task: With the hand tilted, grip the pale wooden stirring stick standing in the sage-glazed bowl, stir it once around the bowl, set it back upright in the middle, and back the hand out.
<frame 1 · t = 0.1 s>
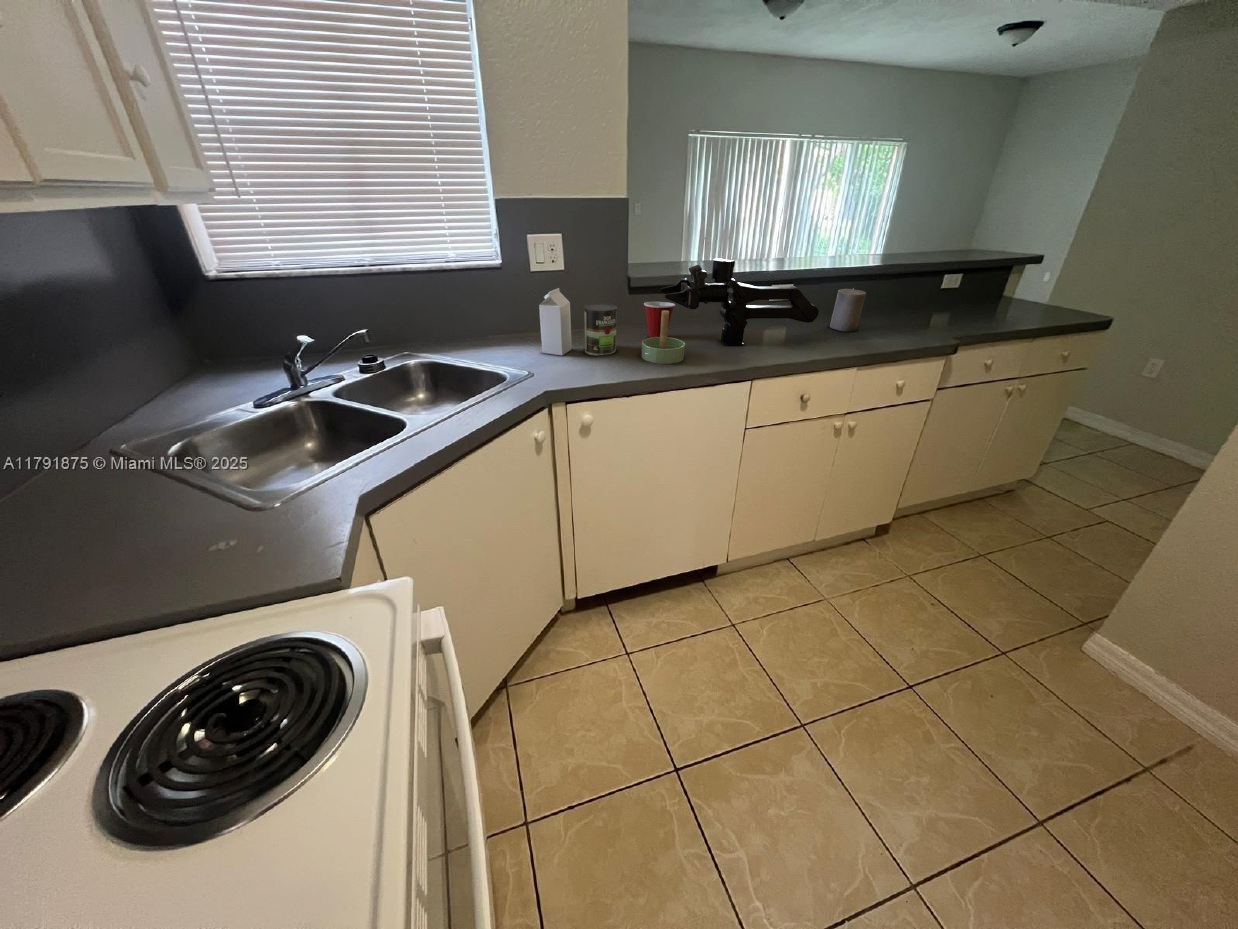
hand: (662, 293, 157), 17 cm above the worktop, tool horizontal, fingers open, 9 cm apart
plastic cup: (657, 338, 172), on the worktop
bowl: (662, 358, 152), on the worktop
pillar candle: (842, 328, 187), on the worktop
stick: (662, 356, 152), point 1 cm above the worktop, touching bowl
milk carton: (557, 352, 156), on the worktop
coffee can: (600, 351, 157), on the worktop
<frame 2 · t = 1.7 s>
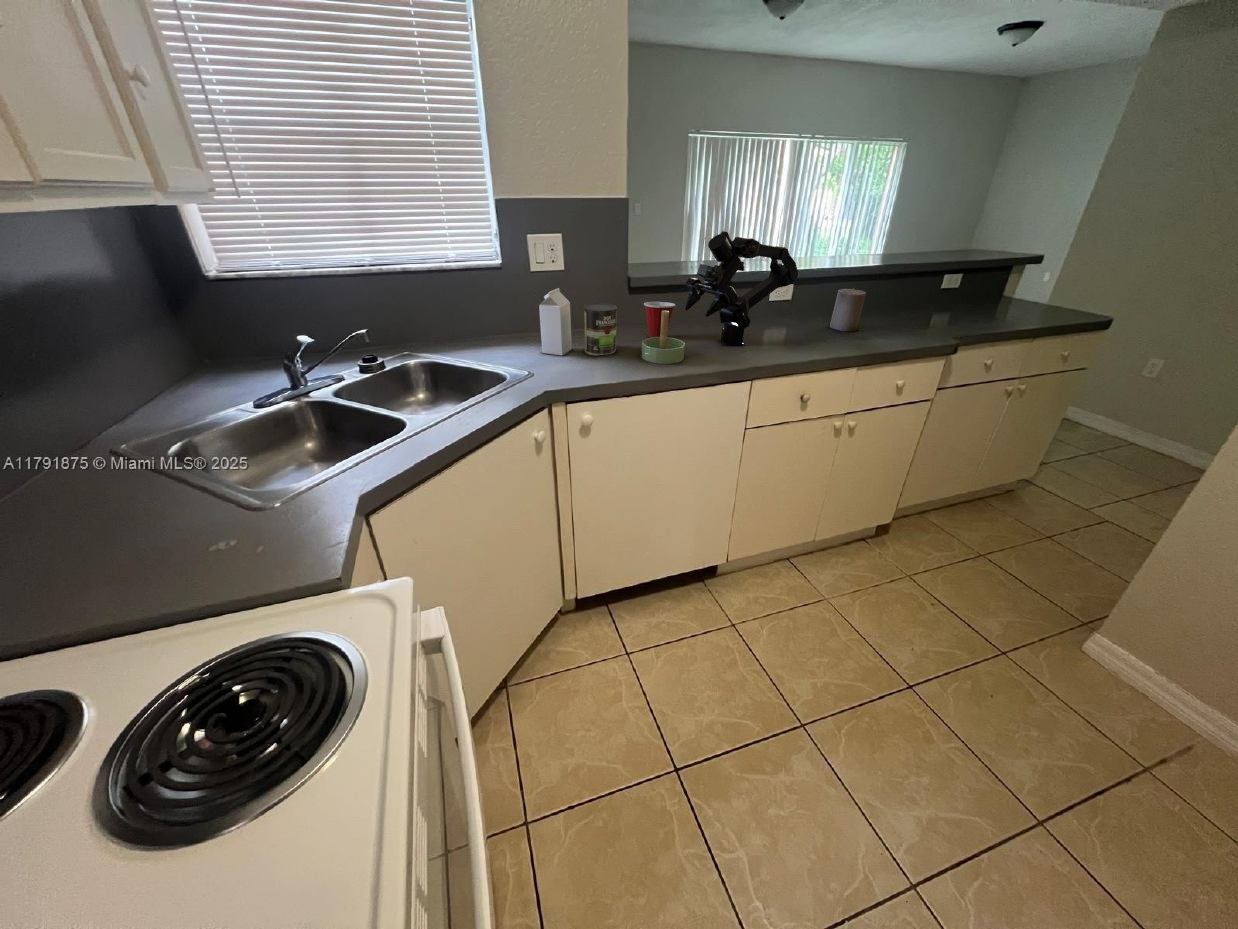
hand: (695, 312, 152), 13 cm above the worktop, tool tilted 45°, fingers open, 9 cm apart
nothing on the worktop moved.
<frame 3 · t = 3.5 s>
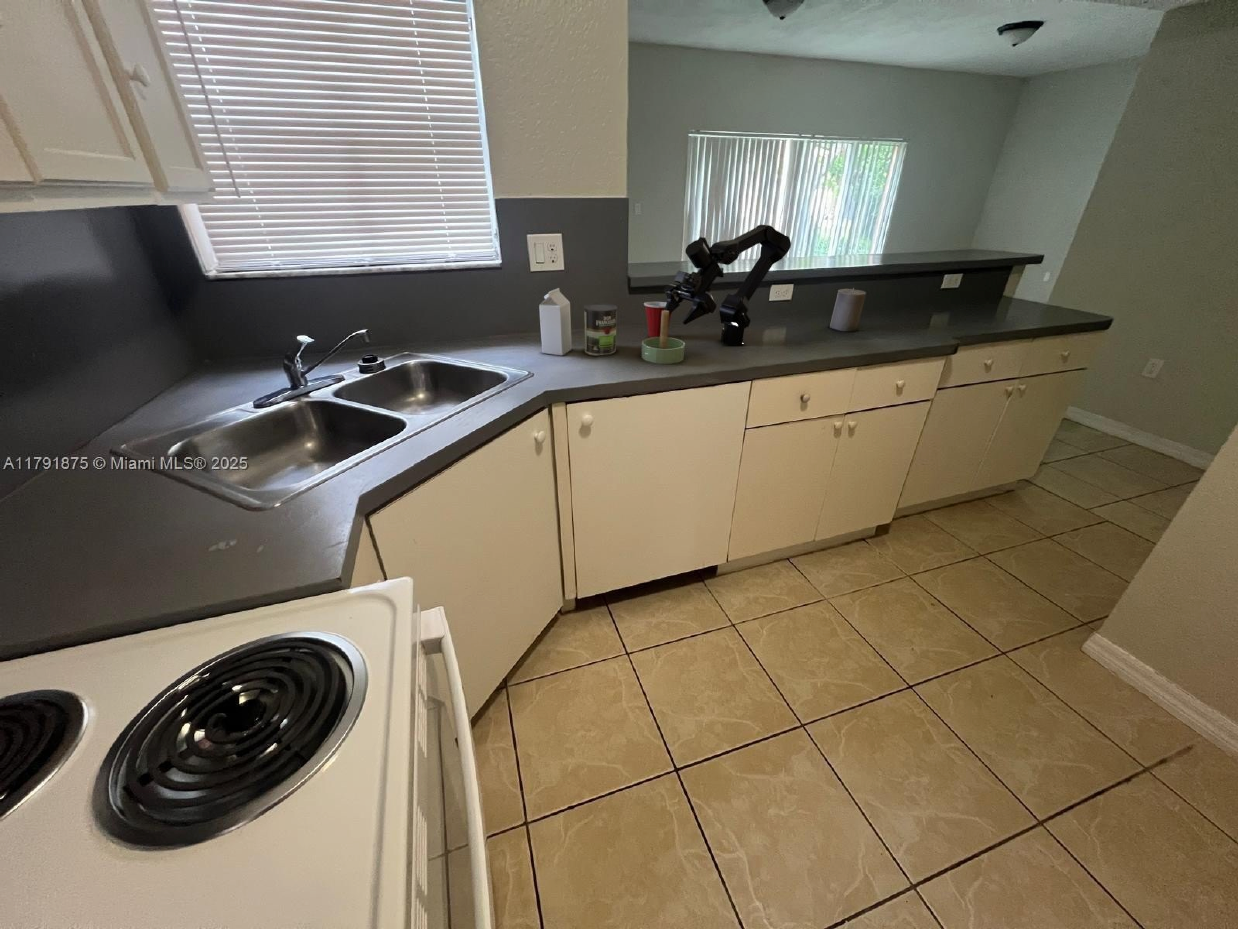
hand: (673, 320, 148), 11 cm above the worktop, tool tilted 45°, fingers open, 9 cm apart
nothing on the worktop moved.
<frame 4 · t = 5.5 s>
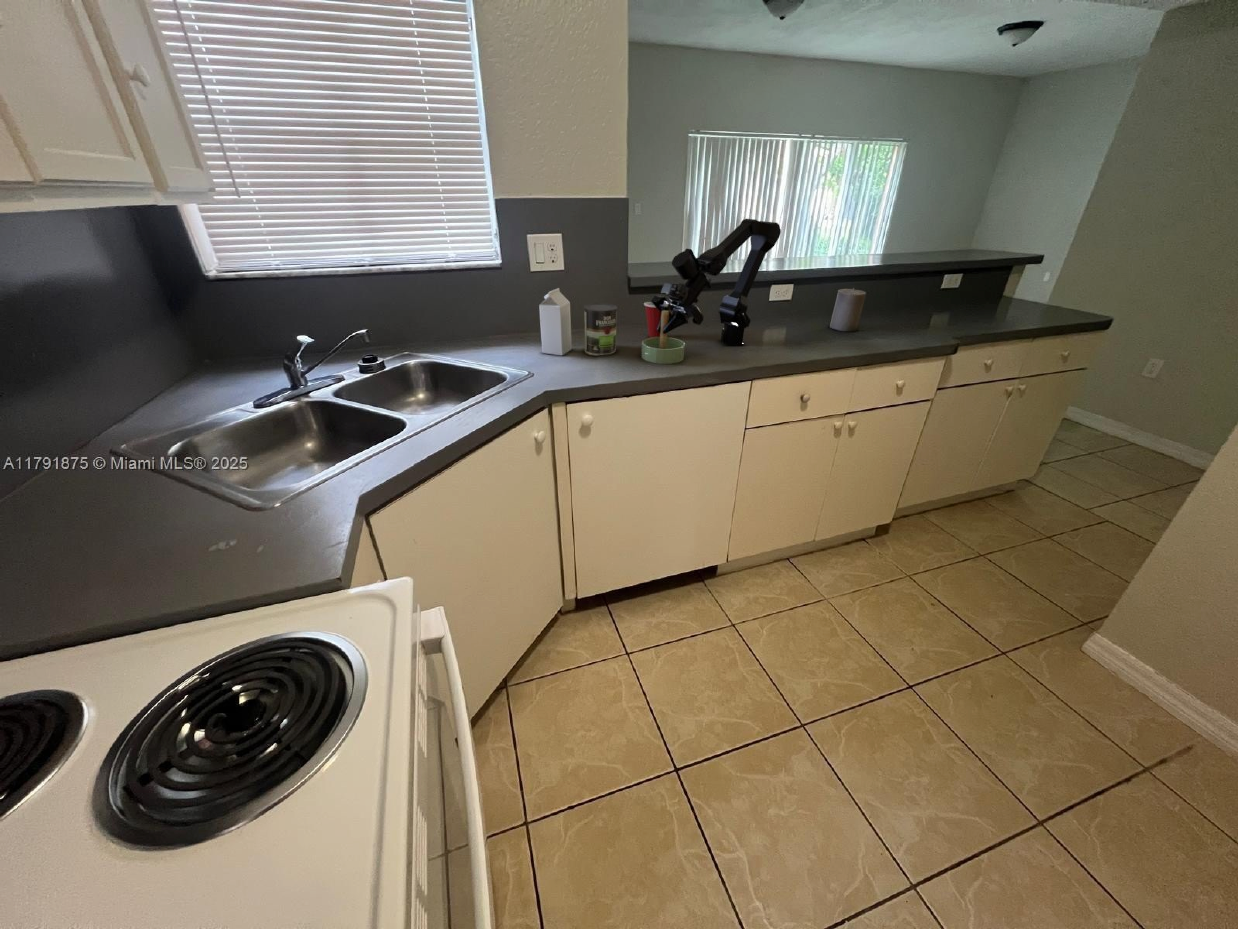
hand: (660, 332, 147), 9 cm above the worktop, tool tilted 45°, fingers closed on stick, 2 cm apart
stick: (662, 356, 152), point 1 cm above the worktop, touching bowl, gripper
everything else where it was.
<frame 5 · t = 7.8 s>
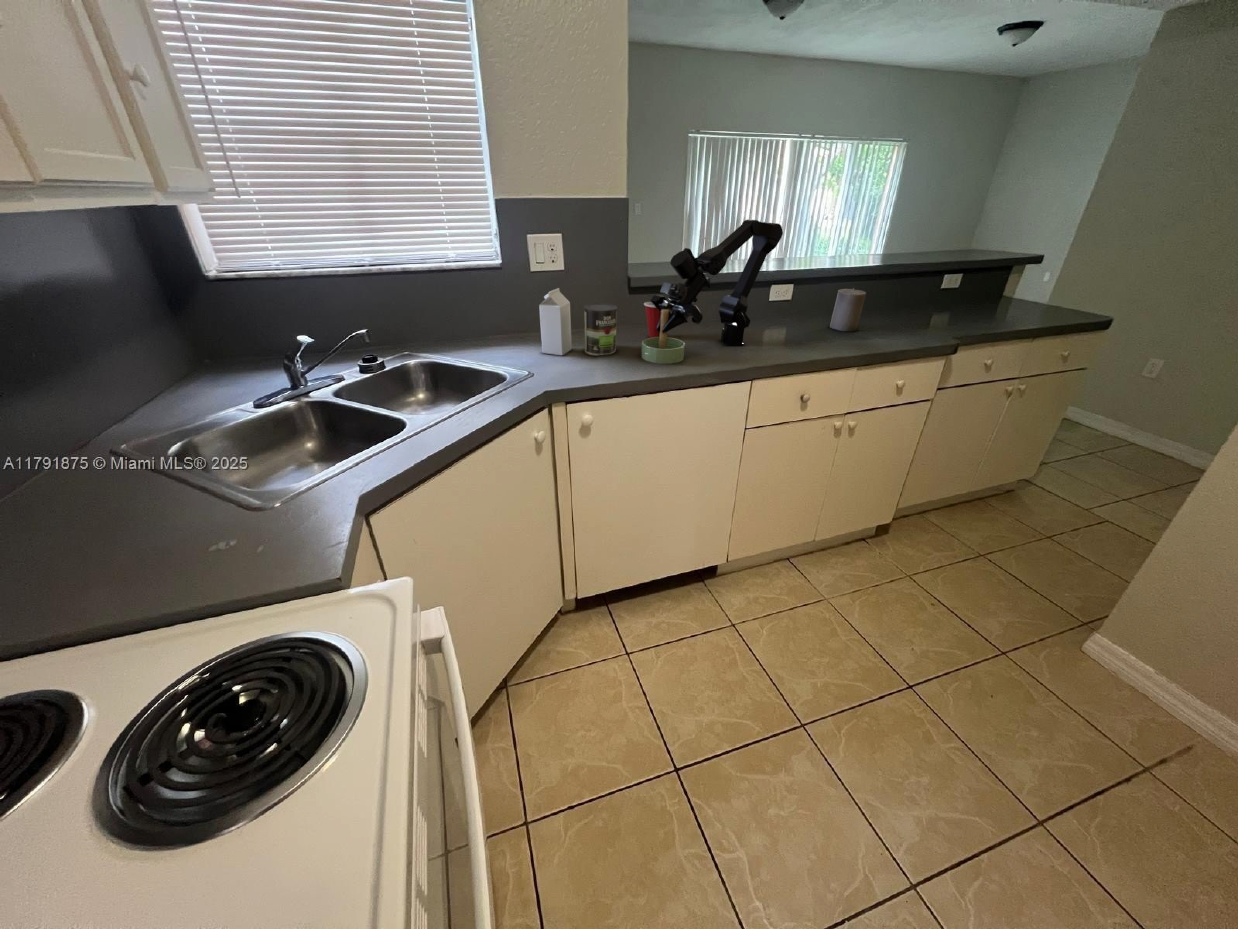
hand: (660, 331, 148), 9 cm above the worktop, tool tilted 45°, fingers closed on stick, 2 cm apart
stick: (661, 355, 152), point 1 cm above the worktop, touching gripper
everything else where it was.
when the fingers open (9 cm above the worktop, at t = 8.9 s): stick stays where it is, resting on bowl.
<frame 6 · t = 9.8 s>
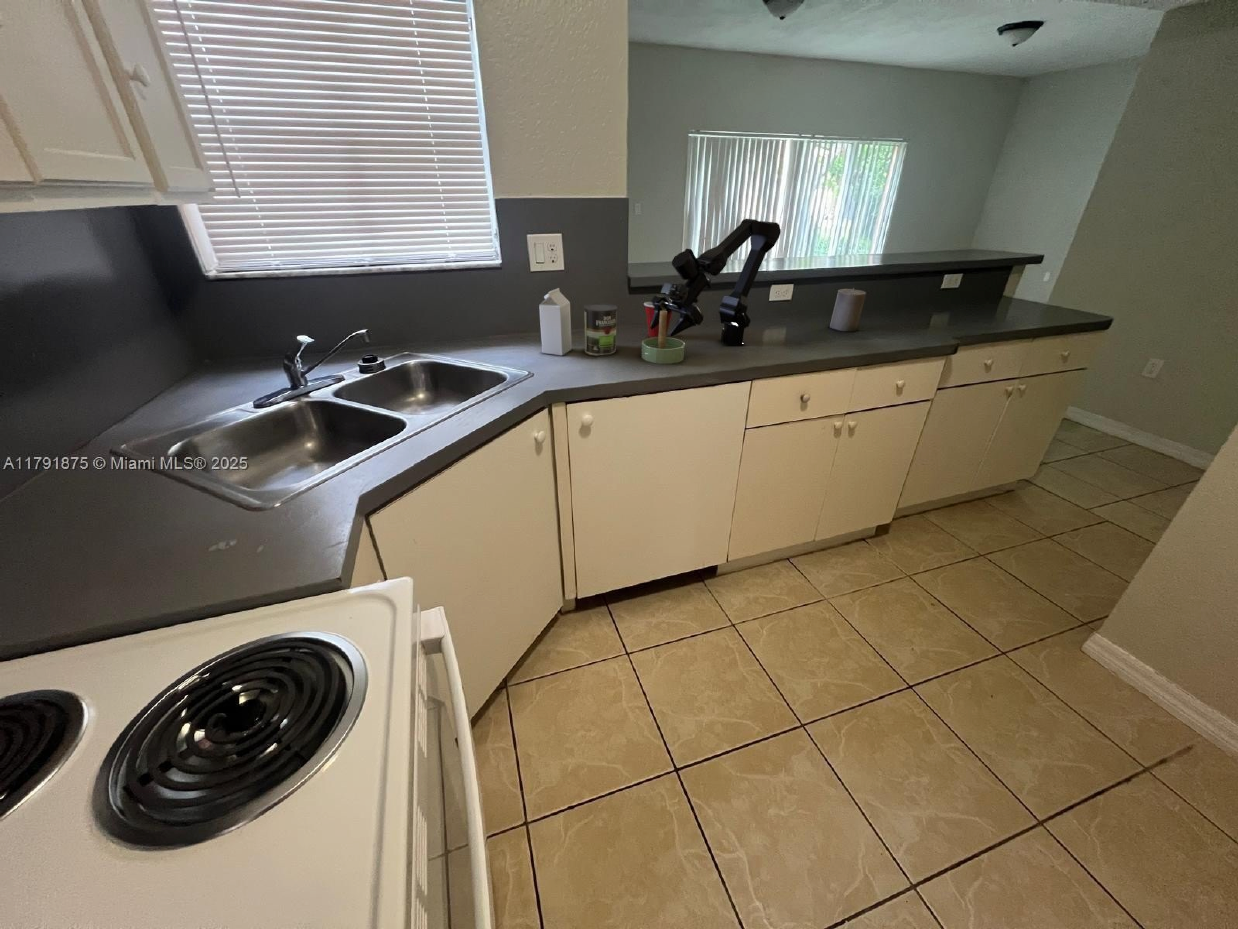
hand: (660, 332, 147), 9 cm above the worktop, tool tilted 45°, fingers open, 9 cm apart
stick: (660, 356, 151), point 1 cm above the worktop, touching bowl
everything else where it was.
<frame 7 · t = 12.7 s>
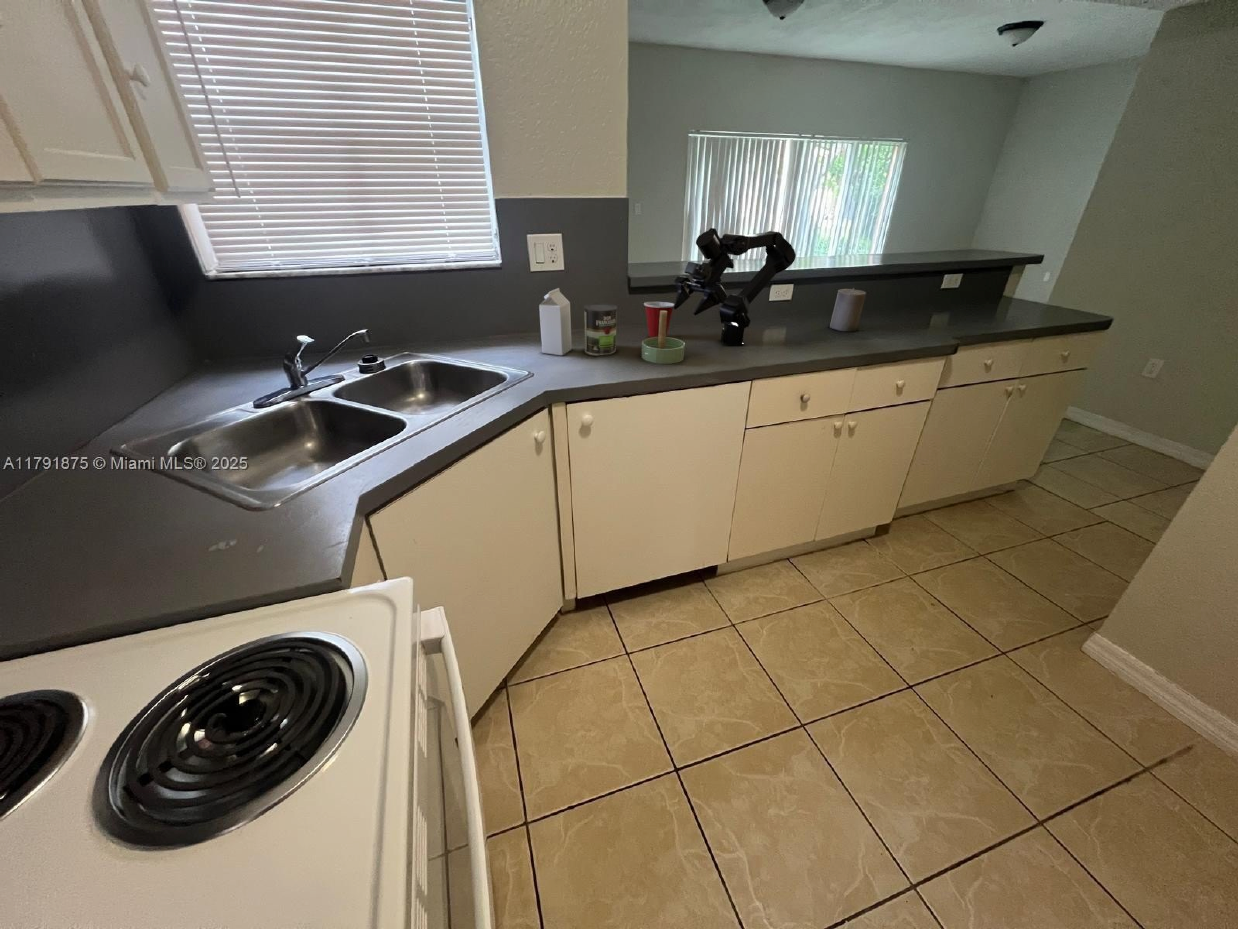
hand: (684, 311, 149), 14 cm above the worktop, tool tilted 45°, fingers open, 9 cm apart
nothing on the worktop moved.
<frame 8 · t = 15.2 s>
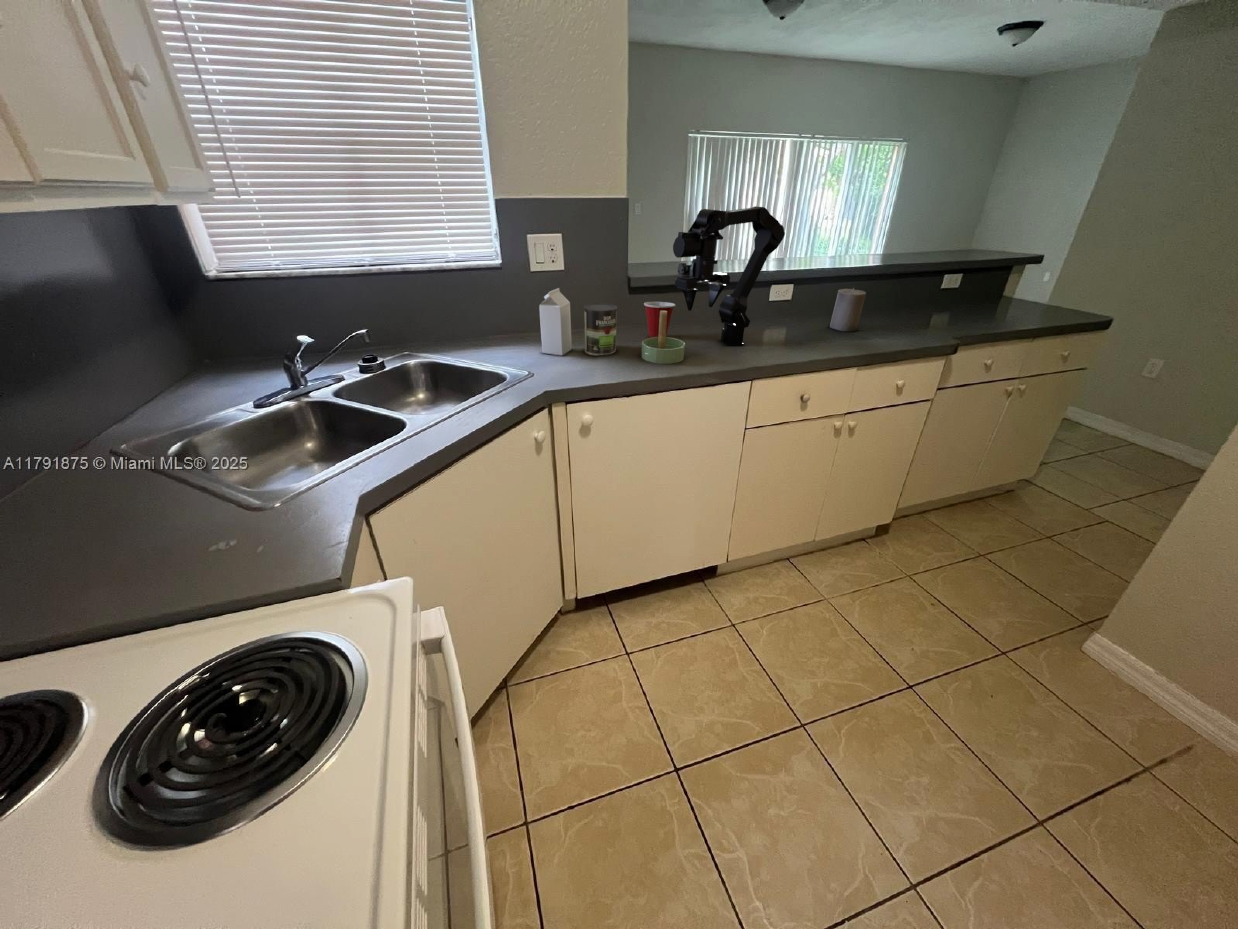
hand: (700, 308, 155), 13 cm above the worktop, tool pointing down, fingers open, 9 cm apart
nothing on the worktop moved.
at the end: stick 0.6 cm off-centre in the bowl, point 0.6 cm above the bowl's base; stick tilted 0°; the gripper is holding nothing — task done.
